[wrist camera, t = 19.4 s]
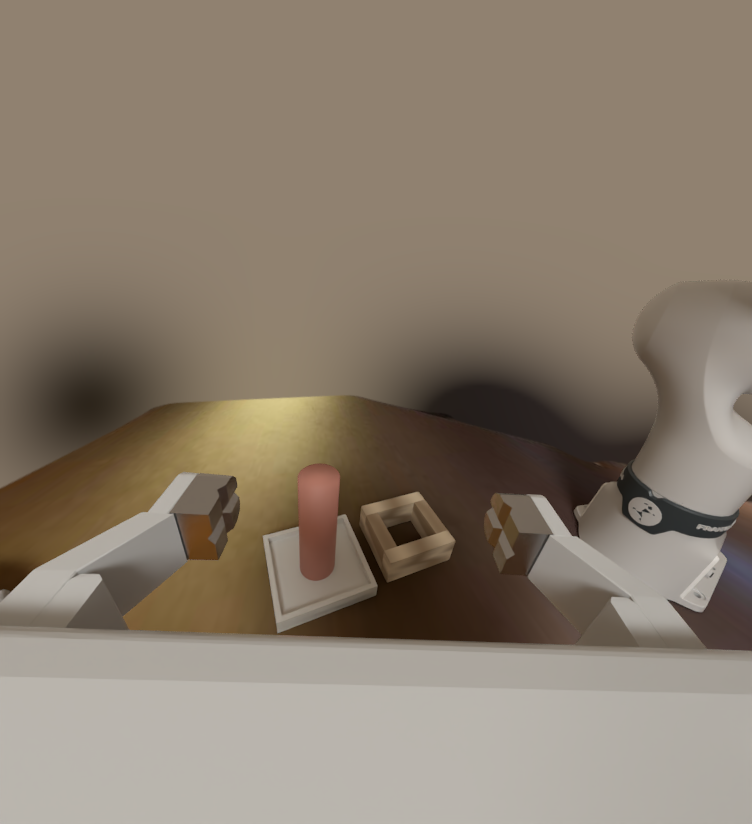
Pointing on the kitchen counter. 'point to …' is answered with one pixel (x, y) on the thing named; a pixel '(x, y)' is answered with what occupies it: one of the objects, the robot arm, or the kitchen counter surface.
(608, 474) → the kitchen counter surface
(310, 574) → the dowel
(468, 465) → the kitchen counter surface
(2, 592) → the dish
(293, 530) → the tray
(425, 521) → the socket block
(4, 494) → the kitchen counter surface
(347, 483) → the kitchen counter surface
